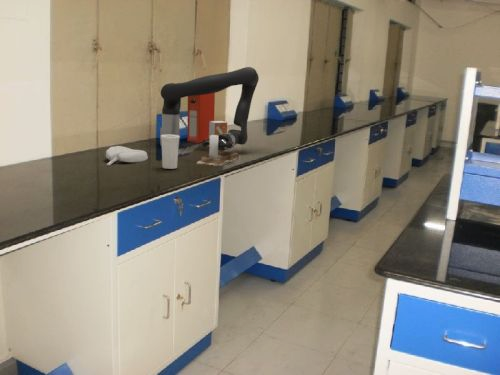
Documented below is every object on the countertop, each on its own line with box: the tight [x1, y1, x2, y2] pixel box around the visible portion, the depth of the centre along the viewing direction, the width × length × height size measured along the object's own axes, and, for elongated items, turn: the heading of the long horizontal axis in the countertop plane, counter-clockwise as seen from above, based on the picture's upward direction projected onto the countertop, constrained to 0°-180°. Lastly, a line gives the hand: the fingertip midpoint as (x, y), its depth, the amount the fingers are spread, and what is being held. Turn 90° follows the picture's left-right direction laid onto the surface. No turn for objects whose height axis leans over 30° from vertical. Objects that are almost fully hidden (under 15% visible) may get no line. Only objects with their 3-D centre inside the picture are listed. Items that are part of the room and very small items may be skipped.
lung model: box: [105, 145, 149, 166], centre depth 250 cm, size 7×17×25 cm
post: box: [208, 135, 219, 159], centre depth 254 cm, size 4×4×12 cm
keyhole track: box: [196, 150, 239, 167], centre depth 260 cm, size 12×22×3 cm, turn 161°
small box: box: [209, 120, 228, 139], centre depth 304 cm, size 8×6×13 cm
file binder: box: [186, 93, 216, 144], centre depth 314 cm, size 8×17×32 cm, turn 156°
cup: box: [161, 134, 180, 170], centre depth 239 cm, size 8×8×14 cm
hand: (212, 145), depth 252 cm, fingers open, 8 cm apart
